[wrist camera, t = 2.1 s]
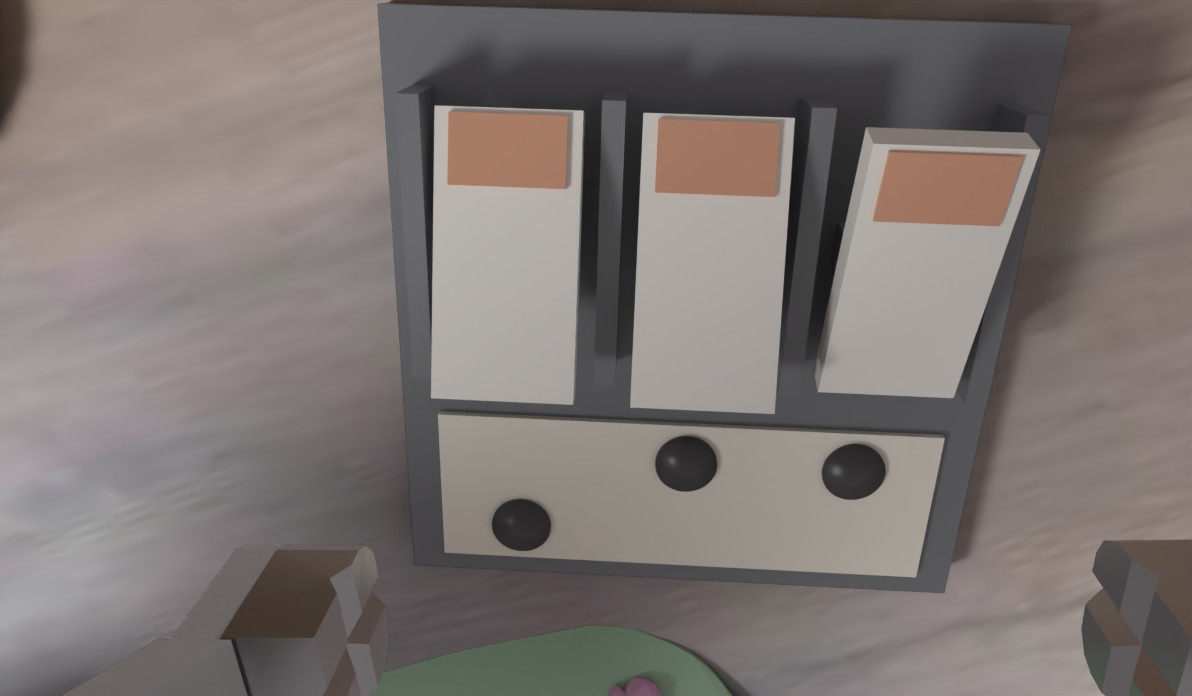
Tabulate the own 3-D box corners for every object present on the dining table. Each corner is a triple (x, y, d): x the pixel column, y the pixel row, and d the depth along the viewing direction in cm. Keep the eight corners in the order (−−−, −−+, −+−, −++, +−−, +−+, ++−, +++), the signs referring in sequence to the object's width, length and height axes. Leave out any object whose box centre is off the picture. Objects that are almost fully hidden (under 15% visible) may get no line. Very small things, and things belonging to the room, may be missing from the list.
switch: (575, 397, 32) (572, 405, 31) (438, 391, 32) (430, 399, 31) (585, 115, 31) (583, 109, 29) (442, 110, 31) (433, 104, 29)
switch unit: (934, 572, 41) (962, 631, 37) (422, 545, 42) (400, 600, 38) (1053, 22, 32) (1106, 29, 28) (388, 2, 32) (356, 6, 29)
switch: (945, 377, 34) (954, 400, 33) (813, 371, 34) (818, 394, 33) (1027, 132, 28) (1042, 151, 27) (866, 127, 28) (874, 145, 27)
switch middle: (769, 407, 32) (775, 414, 30) (630, 400, 32) (630, 408, 31) (788, 122, 30) (795, 117, 29) (643, 117, 31) (643, 112, 29)
